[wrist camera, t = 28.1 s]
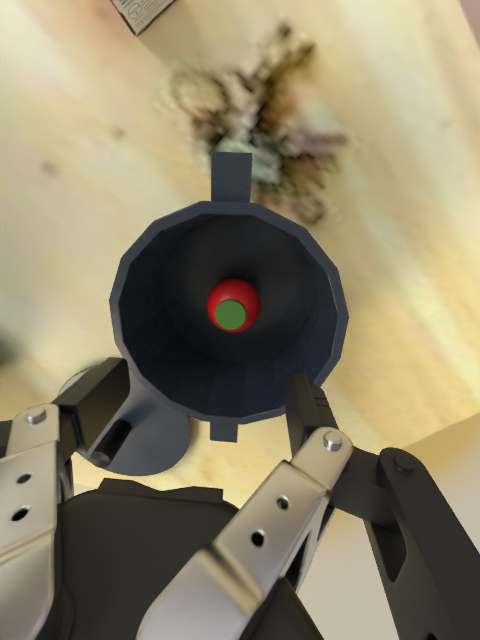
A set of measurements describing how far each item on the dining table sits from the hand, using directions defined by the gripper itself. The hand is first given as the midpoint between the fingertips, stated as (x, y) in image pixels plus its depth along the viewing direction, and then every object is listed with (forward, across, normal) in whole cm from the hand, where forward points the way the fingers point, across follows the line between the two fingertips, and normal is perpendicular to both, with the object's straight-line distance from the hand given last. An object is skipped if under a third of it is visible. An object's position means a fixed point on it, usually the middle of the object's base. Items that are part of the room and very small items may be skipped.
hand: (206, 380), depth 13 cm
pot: (+15, 0, 0) cm, 16 cm away
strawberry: (+15, 0, 0) cm, 15 cm away
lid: (+15, +14, +18) cm, 27 cm away
